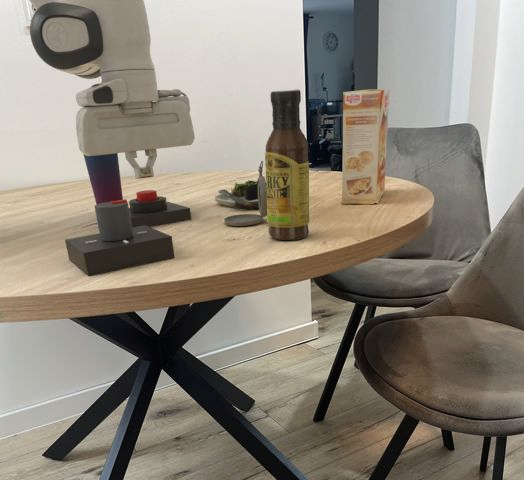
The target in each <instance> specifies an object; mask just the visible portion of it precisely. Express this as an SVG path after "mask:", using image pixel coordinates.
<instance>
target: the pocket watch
mask: <svg viewBox="0 0 524 480" xmlns="http://www.w3.org/2000/svg"><path fill="white" fill-rule="evenodd" d="M263 168H264V160H261V161H260V163H259V166H258V169H257V171H258V174H259V175H258V177H257V180H256V181H257V195H258V206H259V210H258V212H259V214H257V213H243V214H242V213H241V214H233V215H230V216H227V217H225V218H224V219H223V223H224V224H225V225H227V226H231V227H248V226H256V225H257V224H260V223H262V222H263V219H264V218H265V217H266V218H267V189H266V176H263V171H264V169H263Z"/></svg>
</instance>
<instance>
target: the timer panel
mask: <svg viewBox="0 0 524 480" xmlns="http://www.w3.org/2000/svg"><path fill="white" fill-rule="evenodd" d="M132 230H133V237H131V238H129V239H125V240H120V241H103V240H101V237H100V232H98V233H94V234H88V235H82V236H77V237H71V238H66V239H64V244H65V247H66V252H67V256H68V259H69V261H70V262H71V263H72V264H74V265H75V266H76V268H78V269H79V270H81V271H82V272H83V273H84V274H85V275H86V276H88V277H90V276H94V275H100V274H104V273H108V272H114V271H118V270H122V269H123V270H124V269H127V268H132V267H136V266H142V265H147V264H150V263H151V264H152V263H155V262H160V261H165V260H170V259H174V258H175V250H174V242H173V236H172V235H170V234H168V233H165V232H163V231H160V230H158V229H155V228H154V227H148V226H146V225H144V226H139V227H133V228H132Z"/></svg>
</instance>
